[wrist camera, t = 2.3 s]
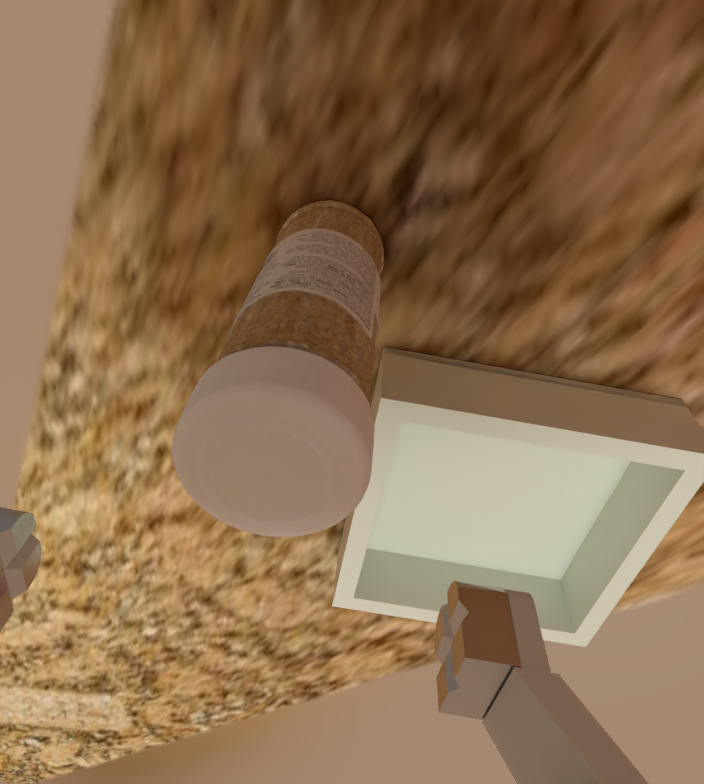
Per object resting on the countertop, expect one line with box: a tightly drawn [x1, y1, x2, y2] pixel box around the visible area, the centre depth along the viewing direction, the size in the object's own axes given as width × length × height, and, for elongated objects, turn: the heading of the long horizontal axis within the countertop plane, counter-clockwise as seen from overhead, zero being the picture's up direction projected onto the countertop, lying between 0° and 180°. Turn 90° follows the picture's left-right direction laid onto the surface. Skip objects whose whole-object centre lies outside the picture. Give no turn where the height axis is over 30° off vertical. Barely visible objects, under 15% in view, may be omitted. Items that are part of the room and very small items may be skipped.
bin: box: [332, 347, 704, 647], centre depth 29 cm, size 14×14×4 cm
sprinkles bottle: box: [172, 200, 384, 537], centre depth 18 cm, size 5×5×14 cm
